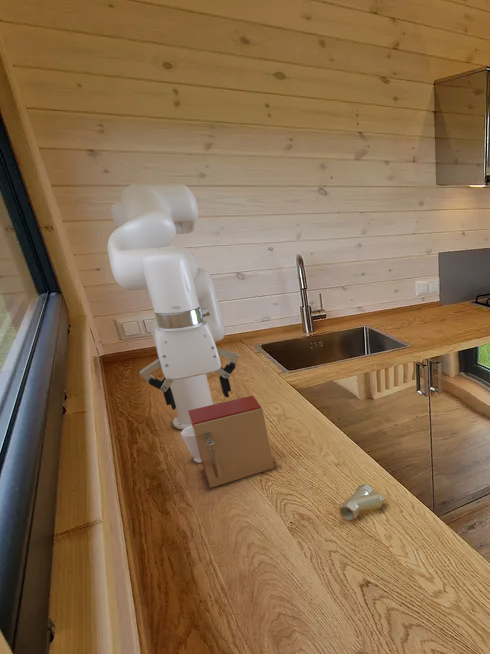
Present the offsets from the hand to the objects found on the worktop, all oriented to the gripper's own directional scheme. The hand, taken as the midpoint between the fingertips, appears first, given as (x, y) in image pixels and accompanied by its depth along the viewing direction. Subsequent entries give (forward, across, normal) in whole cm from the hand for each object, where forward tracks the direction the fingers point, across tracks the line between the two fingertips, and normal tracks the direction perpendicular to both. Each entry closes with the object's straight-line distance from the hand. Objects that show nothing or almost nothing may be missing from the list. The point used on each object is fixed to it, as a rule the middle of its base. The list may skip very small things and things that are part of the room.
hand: (200, 401), depth 99 cm
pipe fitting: (+23, -23, +24) cm, 40 cm away
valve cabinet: (+22, -5, -9) cm, 25 cm away
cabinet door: (+22, -5, -1) cm, 23 cm away
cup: (+22, +1, -21) cm, 31 cm away
